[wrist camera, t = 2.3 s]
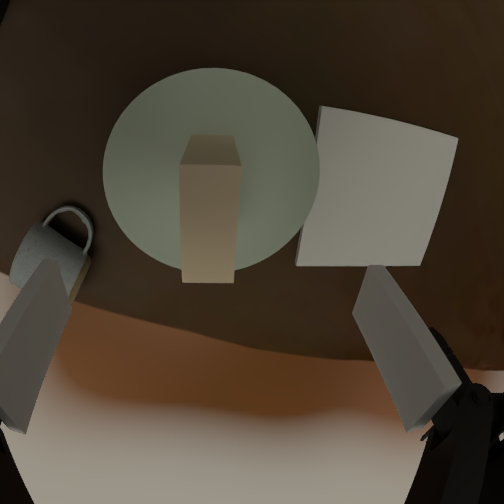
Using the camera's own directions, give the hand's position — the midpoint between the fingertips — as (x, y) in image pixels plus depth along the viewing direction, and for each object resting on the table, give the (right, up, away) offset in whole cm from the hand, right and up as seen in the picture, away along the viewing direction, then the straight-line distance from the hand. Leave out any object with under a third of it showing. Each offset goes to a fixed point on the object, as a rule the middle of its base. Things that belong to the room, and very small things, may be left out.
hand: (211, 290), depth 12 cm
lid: (-2, +8, +12) cm, 14 cm away
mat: (+16, +8, +21) cm, 28 cm away
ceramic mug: (-20, +3, +20) cm, 28 cm away
